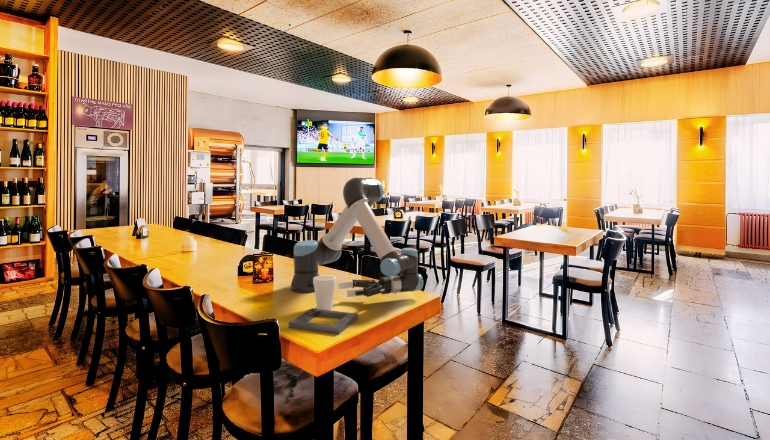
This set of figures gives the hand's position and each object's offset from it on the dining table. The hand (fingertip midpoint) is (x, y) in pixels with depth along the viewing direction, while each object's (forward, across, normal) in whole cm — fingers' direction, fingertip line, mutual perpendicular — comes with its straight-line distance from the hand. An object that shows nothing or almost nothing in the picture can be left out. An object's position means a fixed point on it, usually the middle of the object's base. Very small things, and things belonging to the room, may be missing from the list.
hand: (342, 289), depth 167 cm
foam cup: (+8, 0, -8) cm, 11 cm away
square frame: (+12, -17, -7) cm, 22 cm away
